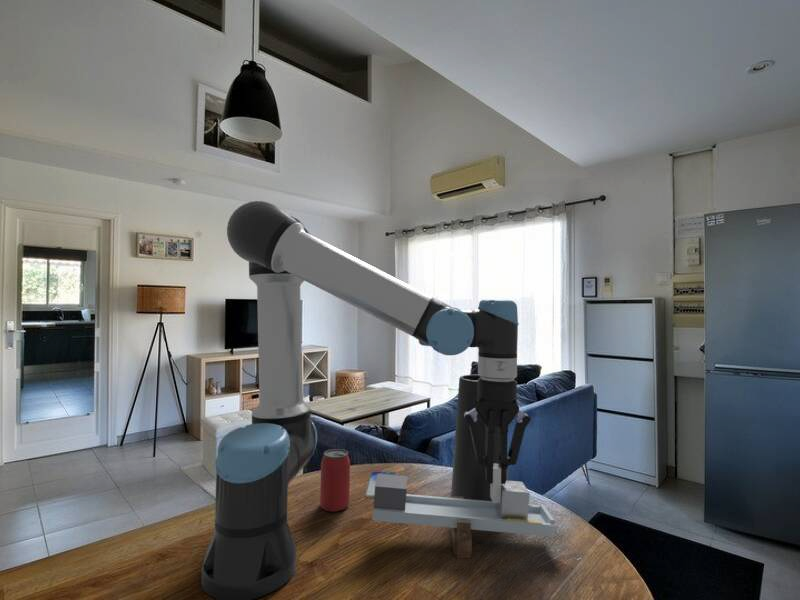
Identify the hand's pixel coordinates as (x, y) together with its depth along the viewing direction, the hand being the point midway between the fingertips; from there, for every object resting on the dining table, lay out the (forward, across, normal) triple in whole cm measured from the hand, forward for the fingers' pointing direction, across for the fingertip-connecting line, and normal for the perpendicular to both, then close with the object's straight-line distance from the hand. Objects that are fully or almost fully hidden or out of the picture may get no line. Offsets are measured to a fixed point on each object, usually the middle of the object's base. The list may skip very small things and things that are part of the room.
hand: (495, 499), depth 80 cm
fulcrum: (+8, -7, 0) cm, 11 cm away
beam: (+4, -7, 0) cm, 8 cm away
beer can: (+9, -34, +13) cm, 37 cm away
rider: (+3, +3, 0) cm, 5 cm away
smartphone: (+9, -24, +25) cm, 36 cm away
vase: (+9, 0, +19) cm, 21 cm away
